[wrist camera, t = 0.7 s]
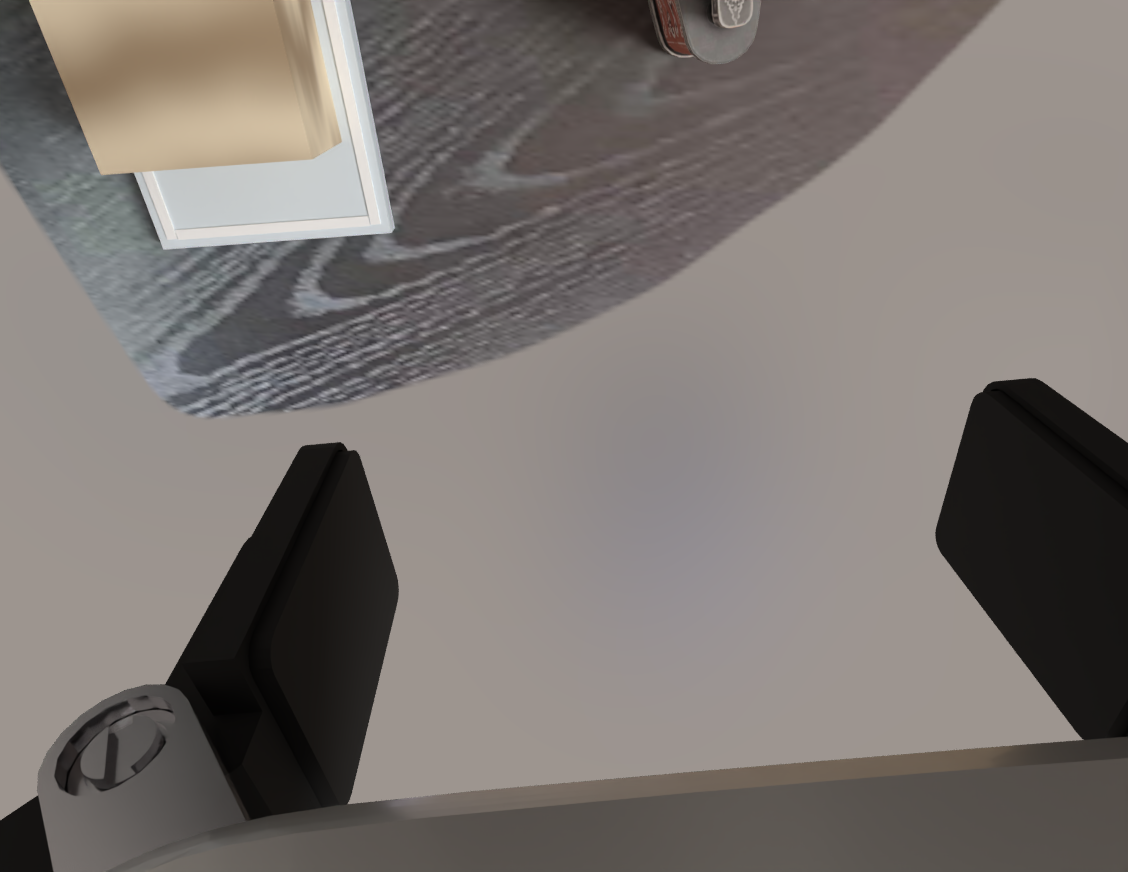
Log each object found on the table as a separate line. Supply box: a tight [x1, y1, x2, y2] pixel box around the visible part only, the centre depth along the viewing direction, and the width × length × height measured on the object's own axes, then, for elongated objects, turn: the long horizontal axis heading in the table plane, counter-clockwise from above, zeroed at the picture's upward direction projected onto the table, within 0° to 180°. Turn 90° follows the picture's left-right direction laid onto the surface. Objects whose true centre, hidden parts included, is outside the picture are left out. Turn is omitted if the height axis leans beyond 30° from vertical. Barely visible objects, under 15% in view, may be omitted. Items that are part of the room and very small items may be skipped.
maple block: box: [29, 0, 342, 175], centre depth 28 cm, size 9×9×5 cm
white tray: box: [134, 0, 395, 249], centre depth 30 cm, size 18×12×1 cm, turn 4°
